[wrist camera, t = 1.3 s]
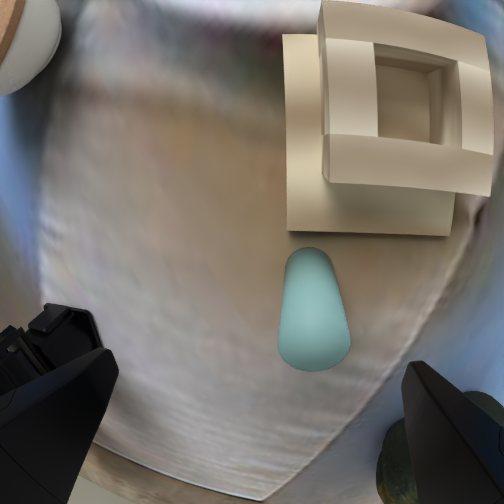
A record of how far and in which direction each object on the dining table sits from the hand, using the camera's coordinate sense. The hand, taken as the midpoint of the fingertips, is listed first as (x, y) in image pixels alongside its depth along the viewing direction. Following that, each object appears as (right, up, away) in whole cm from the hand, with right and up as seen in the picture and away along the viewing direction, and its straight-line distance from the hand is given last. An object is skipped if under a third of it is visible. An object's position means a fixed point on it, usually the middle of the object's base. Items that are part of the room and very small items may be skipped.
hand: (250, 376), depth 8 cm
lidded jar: (-18, +21, +8) cm, 29 cm away
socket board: (+8, +11, +8) cm, 15 cm away
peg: (+4, +2, +12) cm, 13 cm away
